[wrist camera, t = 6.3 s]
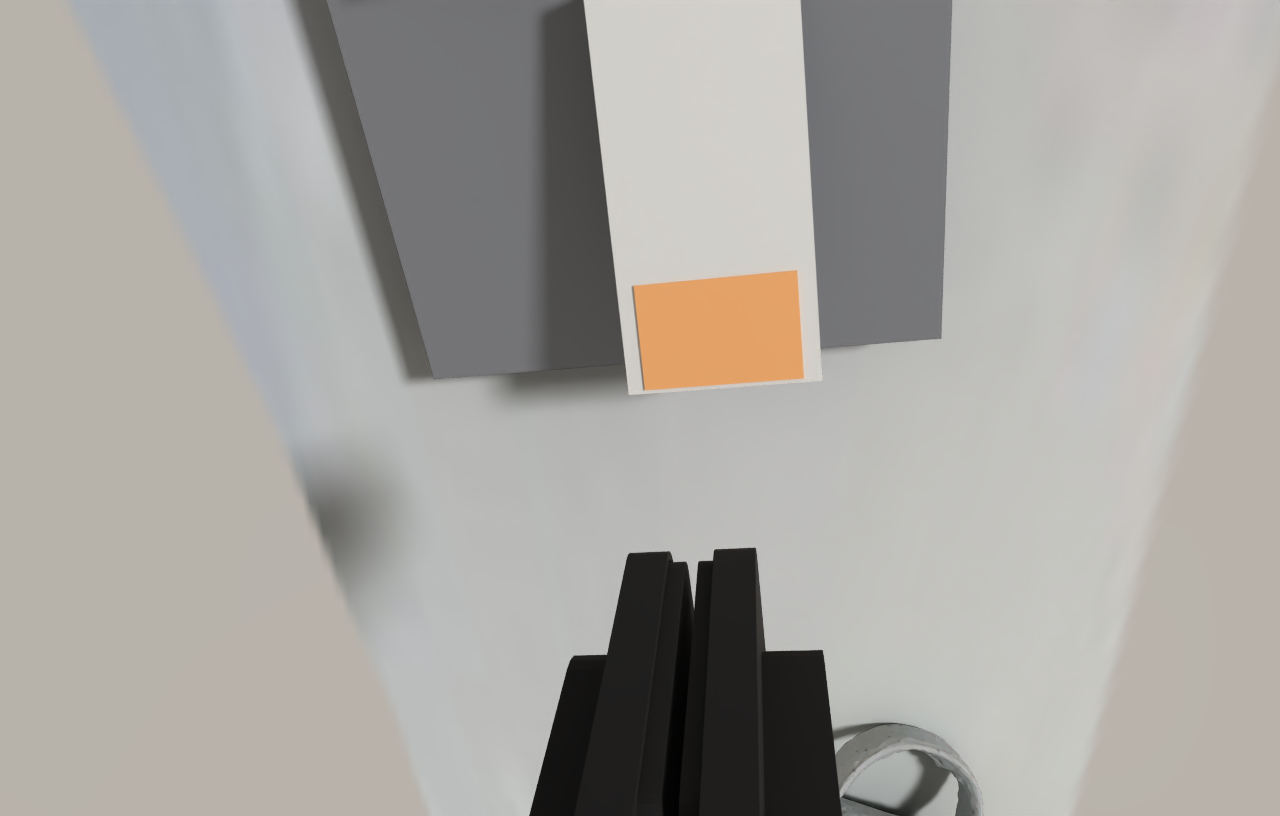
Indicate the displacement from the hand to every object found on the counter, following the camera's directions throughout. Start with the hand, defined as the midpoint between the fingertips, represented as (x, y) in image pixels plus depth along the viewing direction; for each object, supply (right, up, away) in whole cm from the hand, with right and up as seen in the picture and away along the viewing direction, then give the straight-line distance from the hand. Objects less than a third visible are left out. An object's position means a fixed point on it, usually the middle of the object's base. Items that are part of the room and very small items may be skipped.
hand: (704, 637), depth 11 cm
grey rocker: (+1, +8, +8) cm, 11 cm away
